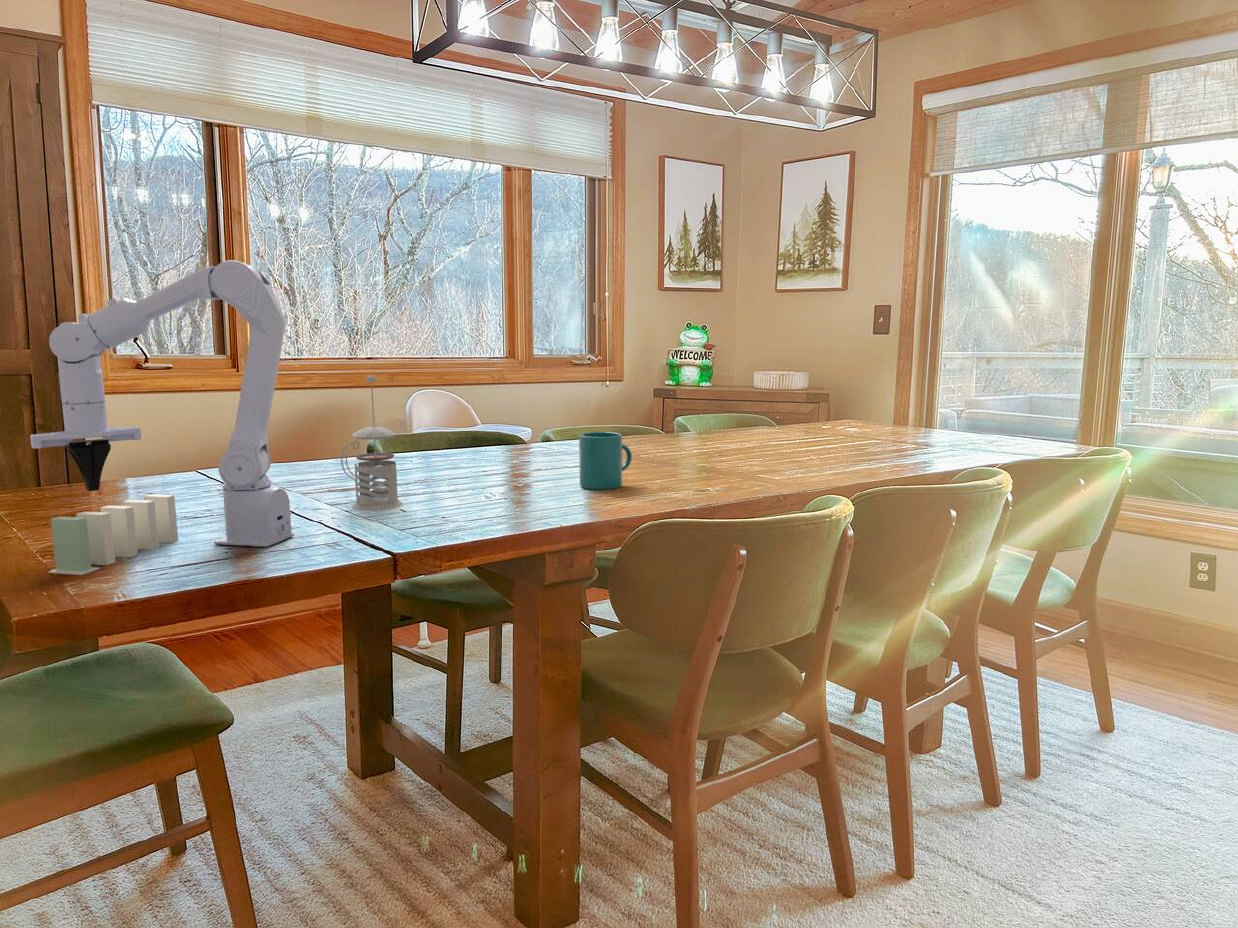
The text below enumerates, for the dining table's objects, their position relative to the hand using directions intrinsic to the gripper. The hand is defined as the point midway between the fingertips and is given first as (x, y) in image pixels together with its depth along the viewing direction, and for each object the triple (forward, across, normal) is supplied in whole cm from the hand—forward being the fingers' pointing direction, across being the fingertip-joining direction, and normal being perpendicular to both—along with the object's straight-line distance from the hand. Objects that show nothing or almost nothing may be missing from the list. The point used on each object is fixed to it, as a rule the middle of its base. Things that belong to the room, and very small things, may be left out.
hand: (92, 489), depth 138 cm
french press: (+10, +47, +1) cm, 48 cm away
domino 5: (+9, +9, -2) cm, 13 cm away
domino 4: (+9, +5, -4) cm, 12 cm away
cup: (+10, +93, -15) cm, 95 cm away
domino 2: (+9, -2, -10) cm, 14 cm away
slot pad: (+9, -6, -12) cm, 16 cm away
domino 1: (+9, -6, -12) cm, 16 cm away
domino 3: (+9, +2, -7) cm, 12 cm away
